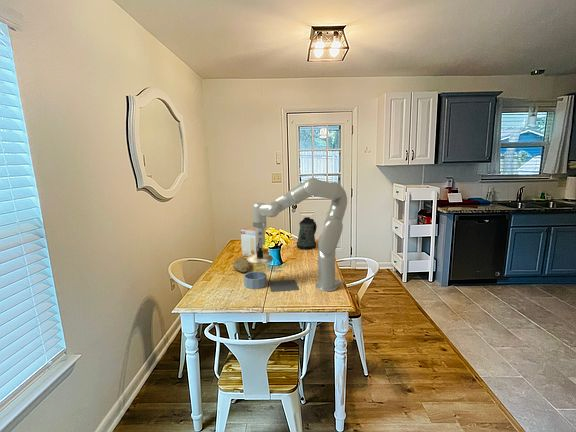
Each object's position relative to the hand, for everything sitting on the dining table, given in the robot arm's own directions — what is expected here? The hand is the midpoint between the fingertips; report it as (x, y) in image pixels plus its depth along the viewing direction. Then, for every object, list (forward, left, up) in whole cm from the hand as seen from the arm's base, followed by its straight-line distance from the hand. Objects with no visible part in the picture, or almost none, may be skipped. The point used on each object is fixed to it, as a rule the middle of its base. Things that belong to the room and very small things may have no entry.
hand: (259, 255), depth 180 cm
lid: (0, 0, -2) cm, 2 cm away
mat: (-13, +3, -18) cm, 22 cm away
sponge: (+11, -31, -18) cm, 37 cm away
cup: (+3, -1, -18) cm, 18 cm away
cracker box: (+4, -58, -18) cm, 61 cm away
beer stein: (-43, -77, -18) cm, 90 cm away
